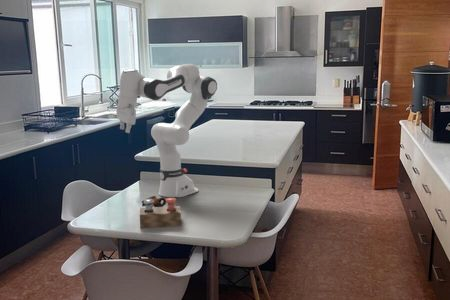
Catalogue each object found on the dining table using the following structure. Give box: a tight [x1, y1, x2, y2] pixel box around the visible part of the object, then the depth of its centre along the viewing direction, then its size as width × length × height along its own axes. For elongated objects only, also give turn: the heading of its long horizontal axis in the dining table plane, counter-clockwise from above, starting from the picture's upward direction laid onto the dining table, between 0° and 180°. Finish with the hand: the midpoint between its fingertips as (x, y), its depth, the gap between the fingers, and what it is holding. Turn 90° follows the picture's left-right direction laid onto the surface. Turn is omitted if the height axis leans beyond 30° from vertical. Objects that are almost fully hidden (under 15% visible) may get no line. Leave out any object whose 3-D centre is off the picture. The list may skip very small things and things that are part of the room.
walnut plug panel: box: [139, 205, 182, 229], centre depth 211 cm, size 18×10×6 cm, turn 98°
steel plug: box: [143, 198, 154, 212], centre depth 209 cm, size 5×5×7 cm
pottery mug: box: [141, 195, 167, 208], centre depth 230 cm, size 12×10×8 cm
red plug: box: [165, 197, 177, 211], centre depth 211 cm, size 5×5×7 cm
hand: (124, 130), depth 228 cm, fingers open, 8 cm apart
